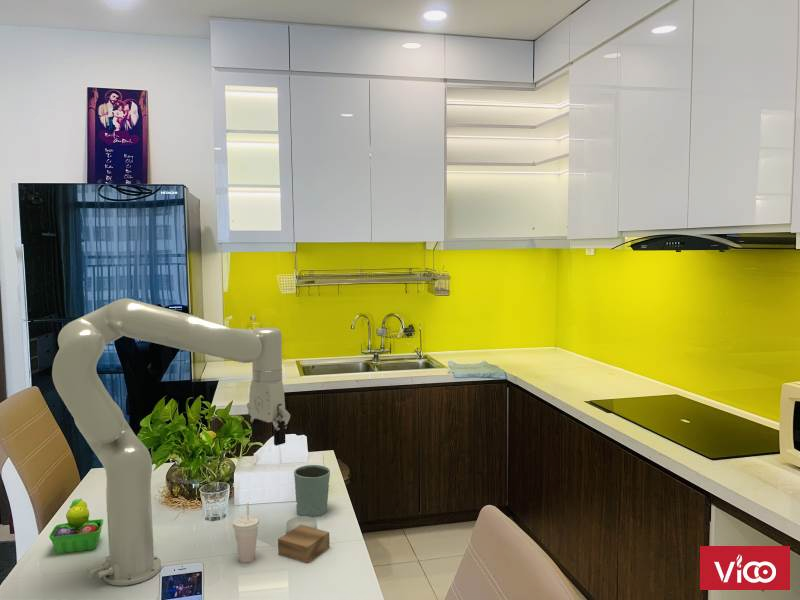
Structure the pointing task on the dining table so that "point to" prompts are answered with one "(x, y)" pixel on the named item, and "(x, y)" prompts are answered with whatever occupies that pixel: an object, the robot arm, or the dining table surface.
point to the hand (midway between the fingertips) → (268, 440)
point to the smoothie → (246, 535)
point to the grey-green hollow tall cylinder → (311, 490)
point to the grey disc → (300, 522)
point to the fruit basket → (76, 530)
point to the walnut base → (303, 543)
